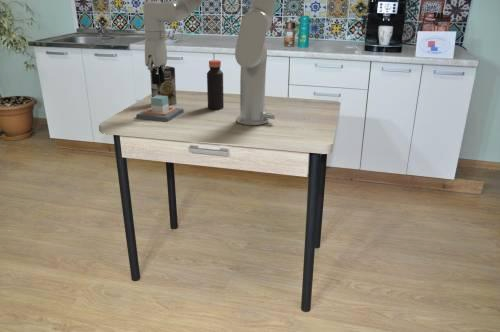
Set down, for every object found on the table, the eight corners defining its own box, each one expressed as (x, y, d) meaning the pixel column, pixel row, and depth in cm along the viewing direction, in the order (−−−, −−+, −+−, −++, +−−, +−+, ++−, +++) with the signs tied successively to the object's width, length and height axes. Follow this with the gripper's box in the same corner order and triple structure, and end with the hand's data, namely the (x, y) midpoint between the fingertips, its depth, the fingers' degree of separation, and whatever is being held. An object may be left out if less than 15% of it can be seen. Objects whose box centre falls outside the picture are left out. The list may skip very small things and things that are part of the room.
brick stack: (168, 110, 192) (167, 96, 190) (163, 113, 188) (162, 98, 186) (157, 109, 194) (156, 95, 192) (151, 112, 189) (150, 97, 187)
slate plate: (183, 112, 196) (183, 106, 195) (168, 121, 183) (167, 115, 182) (153, 109, 200) (153, 104, 199) (136, 118, 187) (136, 112, 186)
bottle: (221, 110, 199) (220, 62, 192) (206, 109, 200) (204, 62, 193) (225, 106, 205) (224, 60, 198) (210, 105, 206) (208, 59, 199)
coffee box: (159, 107, 204) (156, 69, 197) (151, 104, 208) (149, 67, 202) (177, 103, 209) (175, 67, 203) (169, 101, 214) (167, 65, 207)
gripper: (156, 33, 188) (159, 78, 195) (135, 37, 174) (139, 86, 180) (173, 33, 186) (176, 80, 193) (153, 38, 172) (157, 88, 178)
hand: (158, 82), depth 187 cm, fingers open, 3 cm apart
